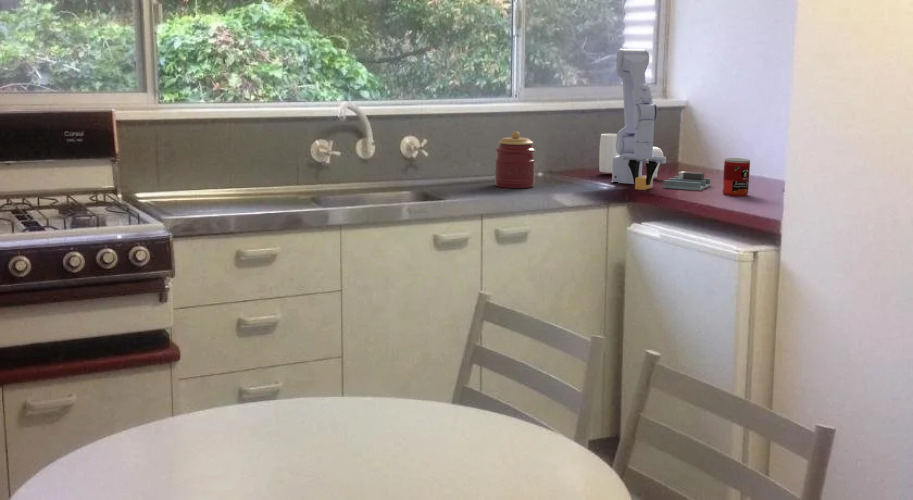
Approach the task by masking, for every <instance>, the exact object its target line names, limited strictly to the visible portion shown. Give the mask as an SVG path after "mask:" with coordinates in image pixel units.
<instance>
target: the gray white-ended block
mask: <svg viewBox="0 0 913 500" xmlns="http://www.w3.org/2000/svg"><path fill="white" fill-rule="evenodd" d="M678 177H679V179H688V180H702V181H704V178H705V173H704V172H698V171H695V172H694V171H683V170H682V171H679V172H678Z"/></svg>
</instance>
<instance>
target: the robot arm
mask: <svg viewBox="0 0 913 500" xmlns="http://www.w3.org/2000/svg"><path fill="white" fill-rule="evenodd" d="M615 61H616V63H615V64H616V73H617V76H618V77H620V78H621V80H622V90H623V91H622V92H623V95H622V96H623V113H624V114H623V117H624V127H623V128H621V129H619V131H618V132H617V133H616V134H617V140H616V151H617V153H618V154H619V155H620V156H615V157H614V159H613V167H612V173H611V183H613V182H618V183H617V184H628V185H629V184H630V185H635V178H637V177H640V176H643V174H642V173H643V163H644V162H645V168H646V171H645V172H646V175H645V176H646V185H650V182H651V179H652V176H653V173H654V171H655V169H656V167H657V165H658V163H660V164H666V163H667V156H663V157H662V156H653V147H654V136H655V135H654V134H655V133H654V131H655V122H656V121H657V118H658V107H657V104H656V102H655V101H653V97H652V91H651V88H650V86H649V85H647V84H646V81H647V80H646V71H647V68H648V66H649V63H650V52H649V51H648V49H647V48H645V49H639V48H636V49H635V48H633V49H632V48H627V49H626V48H624V49H623V48H619V49H618V50H617V53H616V60H615ZM646 159H648V160H646ZM651 160H652V161H651ZM647 162H649V163H647Z"/></svg>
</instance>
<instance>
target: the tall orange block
mask: <svg viewBox="0 0 913 500" xmlns="http://www.w3.org/2000/svg"><path fill="white" fill-rule="evenodd" d="M646 176H647V175H643V174H642V176H640V177H637V178H635V184H634V190H642V191H646V190H648V189H649V190H650V189H652V188H653V185H654V179H653V176H652V179H651V182H650V185H646Z"/></svg>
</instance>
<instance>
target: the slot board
mask: <svg viewBox="0 0 913 500" xmlns="http://www.w3.org/2000/svg"><path fill="white" fill-rule="evenodd" d="M711 179H712V178H705V177H704V181H702V180H688V179H679V176H676V175H675V176H674V177H669V178H668V179H663V185H662V186H663V188H664V189H675V190H676V189H677V190H688V191H689V190H691V191H702V190H704V189H707V188H709V187H711Z"/></svg>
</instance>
